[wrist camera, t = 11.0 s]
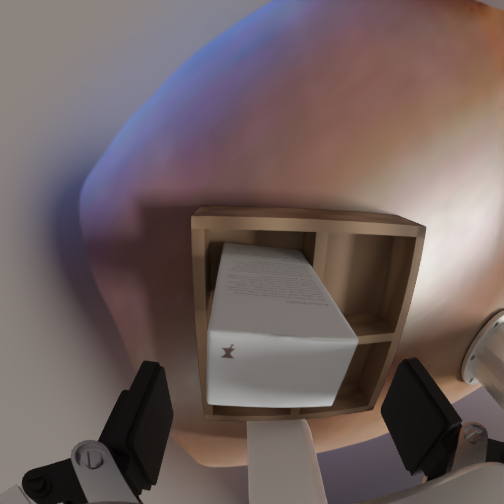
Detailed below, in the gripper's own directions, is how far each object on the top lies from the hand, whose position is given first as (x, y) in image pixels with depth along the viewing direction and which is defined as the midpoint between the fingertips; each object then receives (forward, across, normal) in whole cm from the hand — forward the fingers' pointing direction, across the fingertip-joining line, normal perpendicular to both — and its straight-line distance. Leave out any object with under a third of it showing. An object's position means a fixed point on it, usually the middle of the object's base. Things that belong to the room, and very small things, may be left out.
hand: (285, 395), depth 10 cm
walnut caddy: (+14, -3, +4) cm, 15 cm away
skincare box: (+13, 0, 0) cm, 13 cm away
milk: (+14, -3, +19) cm, 24 cm away
